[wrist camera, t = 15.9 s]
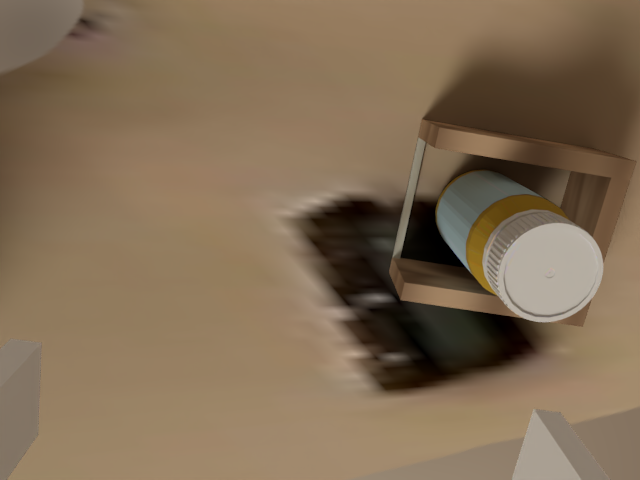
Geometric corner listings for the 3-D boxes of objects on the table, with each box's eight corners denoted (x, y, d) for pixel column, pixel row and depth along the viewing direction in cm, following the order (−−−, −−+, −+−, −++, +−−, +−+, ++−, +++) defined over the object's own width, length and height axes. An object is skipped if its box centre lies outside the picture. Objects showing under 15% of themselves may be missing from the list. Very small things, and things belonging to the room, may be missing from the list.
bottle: (503, 154, 47) (593, 195, 33) (529, 231, 49) (624, 302, 34) (421, 188, 47) (474, 243, 33) (450, 263, 49) (511, 346, 35)
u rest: (389, 272, 49) (400, 300, 44) (422, 119, 46) (439, 127, 40) (550, 296, 51) (582, 326, 45) (595, 149, 47) (636, 161, 41)
